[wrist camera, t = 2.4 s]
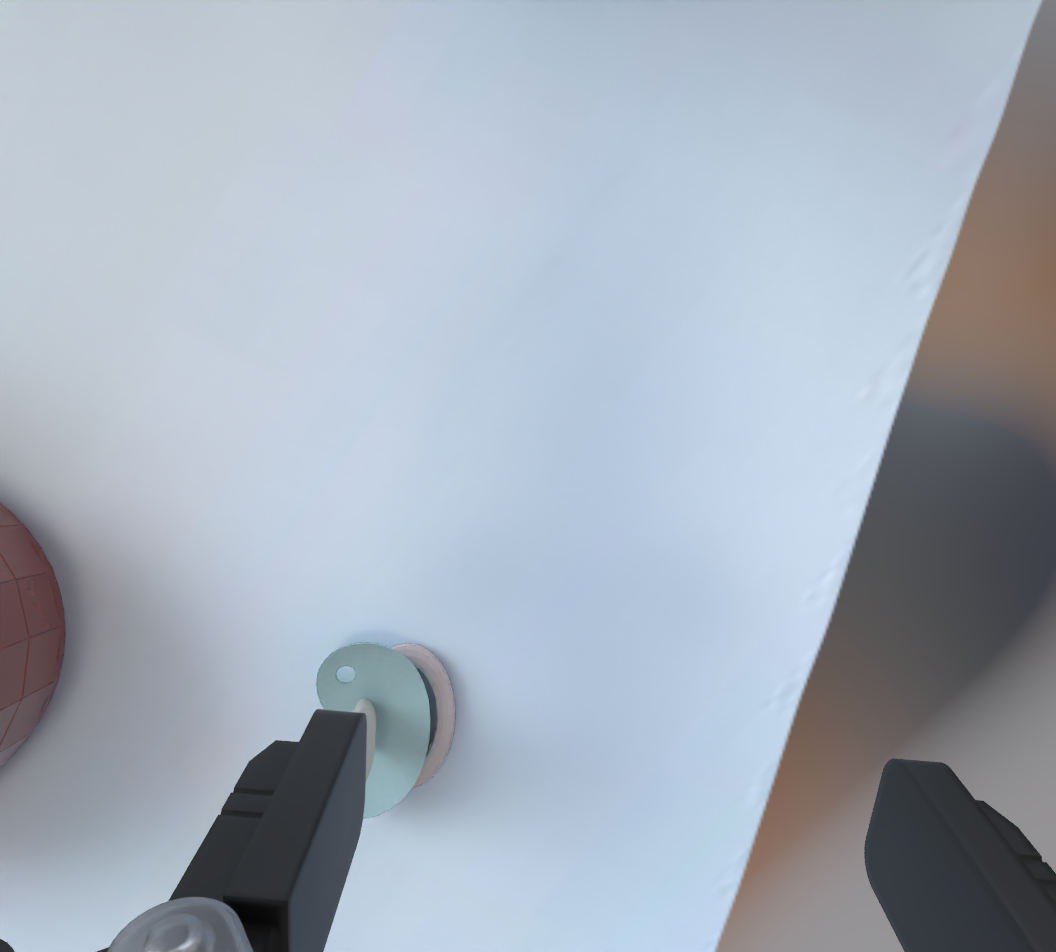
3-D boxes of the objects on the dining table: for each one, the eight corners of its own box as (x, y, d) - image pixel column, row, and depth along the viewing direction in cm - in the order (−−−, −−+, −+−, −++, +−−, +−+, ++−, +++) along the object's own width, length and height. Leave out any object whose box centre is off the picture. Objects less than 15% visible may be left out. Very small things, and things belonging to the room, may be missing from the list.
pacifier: (453, 629, 35) (318, 635, 34) (466, 658, 29) (303, 666, 28) (455, 789, 35) (319, 800, 34) (469, 852, 29) (304, 869, 28)
